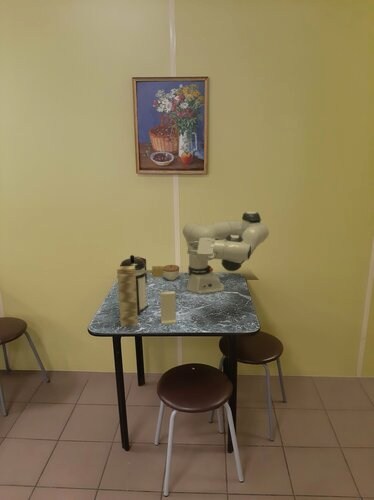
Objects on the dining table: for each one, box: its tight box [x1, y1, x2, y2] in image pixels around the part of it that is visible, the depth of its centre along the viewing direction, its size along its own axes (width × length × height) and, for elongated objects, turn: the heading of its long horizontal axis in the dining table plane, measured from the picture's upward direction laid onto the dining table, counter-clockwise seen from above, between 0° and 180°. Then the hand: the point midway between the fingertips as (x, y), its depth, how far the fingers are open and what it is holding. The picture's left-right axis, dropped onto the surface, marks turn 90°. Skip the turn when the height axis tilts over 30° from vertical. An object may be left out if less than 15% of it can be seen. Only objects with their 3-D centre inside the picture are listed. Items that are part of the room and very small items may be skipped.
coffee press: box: [119, 254, 149, 316], centre depth 182 cm, size 17×16×30 cm
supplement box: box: [134, 255, 148, 283], centre depth 223 cm, size 9×5×16 cm, turn 44°
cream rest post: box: [159, 290, 177, 326], centre depth 174 cm, size 7×8×15 cm
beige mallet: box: [135, 265, 164, 278], centre depth 167 cm, size 18×4×4 cm, turn 97°
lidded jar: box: [163, 264, 180, 281], centre depth 229 cm, size 11×11×9 cm
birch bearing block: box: [116, 266, 139, 327], centre depth 169 cm, size 8×6×28 cm
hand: (188, 247), depth 172 cm, fingers open, 8 cm apart
